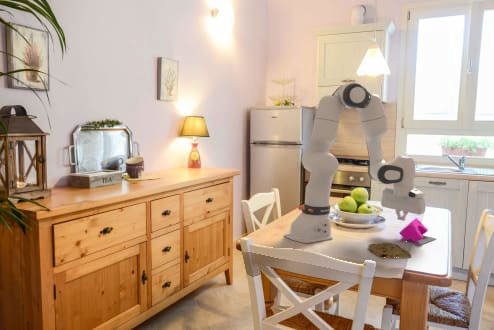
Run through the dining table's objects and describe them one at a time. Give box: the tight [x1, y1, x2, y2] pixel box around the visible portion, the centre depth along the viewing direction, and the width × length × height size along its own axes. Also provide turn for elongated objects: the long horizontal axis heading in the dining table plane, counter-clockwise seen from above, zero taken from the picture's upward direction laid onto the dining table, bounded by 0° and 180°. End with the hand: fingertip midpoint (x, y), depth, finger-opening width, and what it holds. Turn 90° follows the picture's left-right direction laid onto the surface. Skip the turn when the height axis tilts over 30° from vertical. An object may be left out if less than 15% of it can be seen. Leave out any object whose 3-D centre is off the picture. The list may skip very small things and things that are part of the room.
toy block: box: [399, 217, 429, 243], centre depth 182 cm, size 15×6×8 cm
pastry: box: [367, 242, 412, 259], centre depth 163 cm, size 17×17×3 cm
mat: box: [401, 234, 437, 247], centre depth 180 cm, size 16×8×1 cm, turn 130°
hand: (401, 219), depth 186 cm, fingers closed
